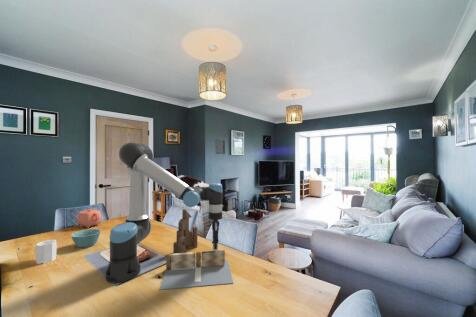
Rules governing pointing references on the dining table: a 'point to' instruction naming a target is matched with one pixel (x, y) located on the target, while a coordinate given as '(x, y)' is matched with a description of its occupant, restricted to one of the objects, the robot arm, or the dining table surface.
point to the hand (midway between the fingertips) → (215, 254)
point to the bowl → (86, 237)
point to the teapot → (89, 218)
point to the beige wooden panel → (183, 260)
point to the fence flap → (213, 258)
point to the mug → (45, 251)
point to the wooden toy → (185, 234)
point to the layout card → (197, 277)
